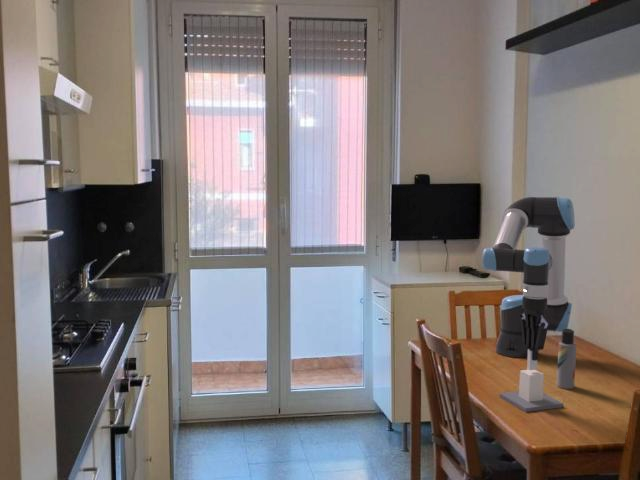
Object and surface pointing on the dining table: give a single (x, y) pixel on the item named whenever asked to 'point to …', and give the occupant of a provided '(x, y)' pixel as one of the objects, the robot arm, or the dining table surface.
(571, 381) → the lotion bottle
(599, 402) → the dining table surface
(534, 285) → the robot arm
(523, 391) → the tall white block
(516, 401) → the post board
